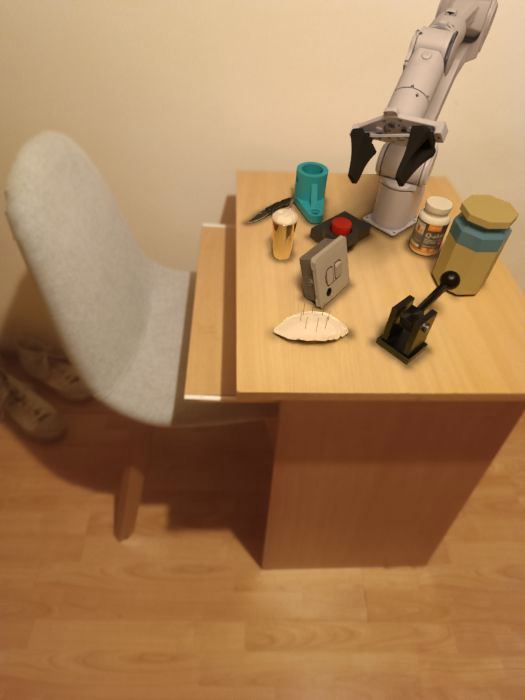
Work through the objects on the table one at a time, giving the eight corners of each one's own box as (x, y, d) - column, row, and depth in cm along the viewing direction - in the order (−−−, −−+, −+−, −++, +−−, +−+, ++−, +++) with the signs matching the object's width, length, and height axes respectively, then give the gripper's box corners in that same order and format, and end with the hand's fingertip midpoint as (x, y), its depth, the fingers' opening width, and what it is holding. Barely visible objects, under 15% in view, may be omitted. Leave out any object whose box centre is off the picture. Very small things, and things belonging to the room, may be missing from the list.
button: (339, 223, 89) (341, 215, 88) (353, 231, 87) (355, 223, 86) (326, 229, 87) (328, 221, 86) (341, 238, 86) (343, 230, 84)
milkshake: (298, 249, 89) (304, 202, 81) (287, 265, 85) (293, 217, 78) (277, 243, 90) (280, 195, 83) (265, 258, 87) (268, 210, 79)
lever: (446, 275, 73) (449, 263, 70) (462, 285, 72) (466, 272, 69) (396, 324, 70) (397, 313, 68) (412, 335, 69) (414, 324, 66)
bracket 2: (394, 328, 76) (408, 291, 70) (425, 349, 73) (442, 313, 67) (375, 342, 73) (387, 306, 68) (406, 364, 70) (422, 328, 65)
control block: (343, 220, 97) (346, 202, 94) (376, 239, 92) (380, 221, 89) (305, 239, 91) (307, 221, 88) (338, 261, 87) (342, 243, 84)
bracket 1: (320, 192, 103) (325, 161, 98) (331, 223, 95) (337, 191, 90) (291, 193, 102) (294, 161, 97) (299, 223, 95) (303, 191, 89)
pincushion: (274, 348, 72) (277, 321, 67) (272, 320, 76) (274, 293, 71) (351, 347, 72) (358, 321, 68) (344, 319, 76) (351, 293, 72)
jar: (482, 304, 81) (521, 229, 70) (428, 291, 82) (459, 216, 71) (482, 273, 87) (519, 200, 76) (432, 261, 88) (461, 188, 77)
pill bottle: (421, 260, 88) (438, 213, 81) (402, 243, 92) (417, 198, 84) (444, 252, 90) (462, 207, 83) (424, 237, 94) (440, 191, 86)
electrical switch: (320, 311, 78) (324, 264, 71) (295, 299, 80) (296, 253, 74) (349, 284, 83) (355, 238, 76) (325, 274, 85) (328, 228, 79)
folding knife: (250, 223, 93) (243, 219, 94) (250, 228, 94) (243, 223, 95) (295, 198, 99) (289, 194, 100) (295, 203, 100) (288, 199, 101)
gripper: (357, 84, 70) (322, 161, 69) (453, 76, 62) (414, 164, 60) (372, 118, 76) (340, 190, 75) (462, 115, 67) (427, 196, 66)
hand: (374, 181), depth 68 cm, fingers open, 7 cm apart
